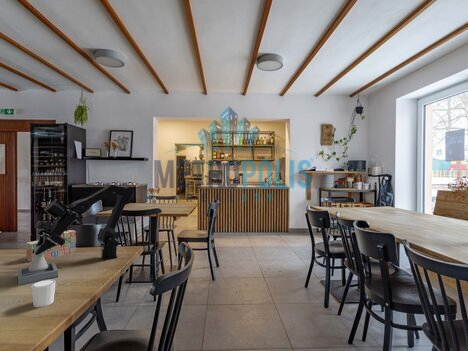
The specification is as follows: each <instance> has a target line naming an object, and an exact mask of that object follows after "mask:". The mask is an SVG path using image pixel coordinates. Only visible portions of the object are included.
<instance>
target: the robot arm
mask: <svg viewBox="0 0 468 351" xmlns="http://www.w3.org/2000/svg"><path fill="white" fill-rule="evenodd" d="M111 194H116V202H115V205H114V207H113V208H112V212H111V213H110V217H109V218H108V221H107V223H106V225H105V227H104V228H102V227H101V228H100V229H99V232H98V233H97V234H96V236H97V238H96V239H97V242H98V243H100V245H101V246H102V248H101V252H100V254H101V255H100V256H101V259H103V260H104V261H107V260H113V259H117V258H118V256H117V247H118V246H119V244H120V243H119V241H118V240H117V239H115V238H116V237H115V236H116V227H117V225H118V224H119V220H120V218H121V216H122V213H123V211H124V208H125V206H126V204H128V202H129V201H130V200H131V198H132V197H133V195H134V191H133V188H131V187H129V186H126V187H125V186H123V187H122V186H117V185H115V184H108V185H106V186H105V187H103V188H102V189H100V190H98V191H96V192H95V193H92V194H91V195H90V196H87V197H84V198H81V199H78V200H75V201H73V202H71V203H70V204H67V205H65V204H63V202H61V201H60V200H59V199H57V198H56V199H54V200H53V201H51V202H50V203H48V204H46V206H45V207H44V208H43V211H44V212H45V213H47V214H48V215H50V216H51V217H53V218H55V219H57V218H58V219H57V220H56V221H53V222H52V221H48V220H45V221H41V220H37V222H36V223H35V225H34V229H35V228H36V229H37V231H36V232H35V233H36V234H37V237H38V240H39V241H38V240H37V241H38V243H37V244H36V246H40V245H41V246H40V247H39V248H38V250H37V251H36V252H35V254H36V255H38V254H40V253H42V252H44V251H46V250H48V249H50V248H52V247H54V246H57V245H56V243H58V245H60V246H62V245H63V244H64V243H65V239H63V238H62V237H60V236H61V235H62V234H63V233H64V232H65V231H66V232H67V231H68V230H69V227H71V225H73V223H74V222H77V223H79V222H81V216H80V215H83V214H85V213H86V212H87V211H89V210H90V209H91V208H92V206H93V205H94V204H96V203H98V202H99V201H101V200H103V199H104V198H106V197H108V196H110V195H111ZM76 214H77V215H76ZM32 253H34V250H33V251H32Z"/></svg>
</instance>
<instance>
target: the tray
mask: <svg viewBox="0 0 468 351" xmlns="http://www.w3.org/2000/svg"><path fill="white" fill-rule="evenodd" d="M47 264H48V268H47V269H44V270H41V271H35V272H30V271H28V270H29V267H30V266H27V267H20V268H17V283H18V284H17V285H18V287H21V286H24V285H29V284H34V283H36V282H39V281H42V280H49V279H52V280H53V279H57V278H59V269H58V268H57V265H56V264H55V261H54V262H47Z"/></svg>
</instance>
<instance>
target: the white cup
mask: <svg viewBox="0 0 468 351" xmlns="http://www.w3.org/2000/svg"><path fill="white" fill-rule="evenodd" d="M55 291H56V280H55V279H53V278H52V279H48V280H42V281H38V282H34V283H31V294H32V303H33V307H35V308H43V307H46V306H49V305H51V304H53V303H54V301H55Z"/></svg>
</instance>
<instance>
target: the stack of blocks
mask: <svg viewBox="0 0 468 351" xmlns="http://www.w3.org/2000/svg"><path fill="white" fill-rule="evenodd" d="M67 230H68V231H67V232H66V231H65V232H64V233H63V234H62V235H61V236H60V237H62V238H63V239H65V243H64V244H63V245H62V246H60V245H58V243H56V245H57V246H54V247H52V248H50V249H48V250H46V251H44V252H42V253H43V256H44V258H45V260H47V259H51V258H56V257H59V256H64V255H69V254H72V253H76V252H77V231H76V230H73V229H67ZM38 241H39V239H38V240H34V241H28V242H26V261H28V262H30V263H31V262H32V259H33V257H34V253H32V251H33V250H34V246H36V244H37V243H38Z"/></svg>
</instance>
